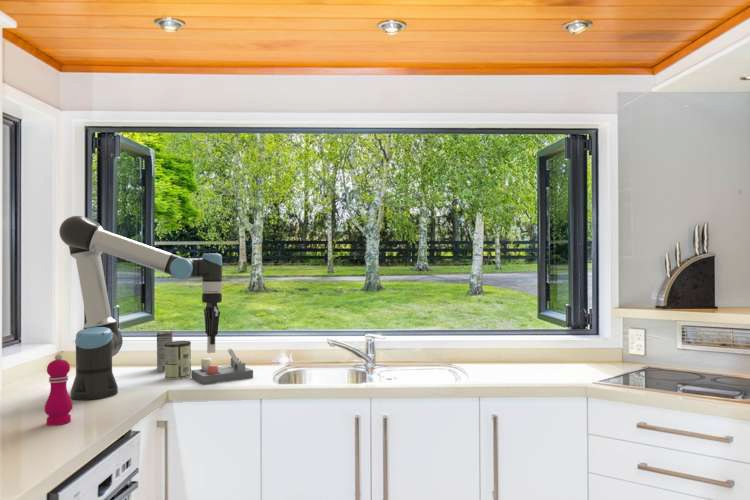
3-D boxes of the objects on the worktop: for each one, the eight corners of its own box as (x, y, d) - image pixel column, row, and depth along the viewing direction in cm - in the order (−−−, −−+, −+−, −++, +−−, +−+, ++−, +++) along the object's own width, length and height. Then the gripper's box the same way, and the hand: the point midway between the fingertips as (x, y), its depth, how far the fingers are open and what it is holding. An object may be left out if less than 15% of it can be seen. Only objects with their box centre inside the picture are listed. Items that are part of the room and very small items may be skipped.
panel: (203, 384, 220) (203, 368, 221) (191, 377, 234) (191, 362, 234) (253, 377, 232) (252, 362, 232) (238, 371, 245) (238, 357, 245)
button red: (209, 379, 224) (209, 367, 224) (206, 378, 227) (206, 365, 227) (219, 378, 226) (219, 365, 226) (216, 377, 229) (216, 364, 229)
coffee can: (171, 374, 241) (171, 340, 242) (195, 374, 240) (194, 340, 241) (159, 379, 231) (159, 344, 231) (184, 379, 230) (184, 344, 230)
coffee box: (157, 368, 257) (157, 331, 257) (173, 367, 258) (172, 331, 259) (156, 371, 248) (156, 334, 248) (172, 370, 250) (172, 333, 250)
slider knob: (233, 366, 238) (233, 359, 238) (230, 365, 241) (230, 358, 241) (238, 365, 240) (238, 358, 240) (236, 364, 242) (236, 357, 242)
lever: (239, 370, 232) (228, 351, 229) (237, 368, 234) (226, 350, 232) (243, 367, 233) (232, 348, 230) (241, 365, 235) (230, 347, 233)
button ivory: (203, 372, 230) (203, 360, 231) (200, 371, 234) (200, 358, 234) (213, 371, 233) (212, 359, 233) (209, 370, 236) (209, 357, 236)
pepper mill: (77, 418, 173) (76, 352, 174) (65, 425, 166) (64, 356, 167) (52, 419, 173) (52, 352, 174) (39, 426, 166) (39, 356, 166)
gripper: (226, 293, 224) (226, 354, 223) (216, 291, 235) (215, 349, 234) (207, 293, 220) (206, 355, 219) (197, 291, 231) (196, 351, 230)
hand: (211, 352), depth 227 cm, fingers closed
